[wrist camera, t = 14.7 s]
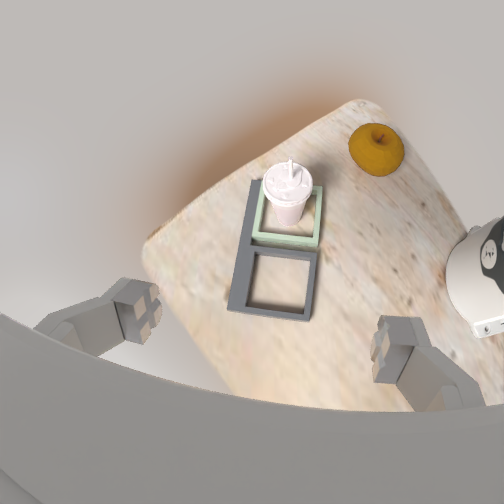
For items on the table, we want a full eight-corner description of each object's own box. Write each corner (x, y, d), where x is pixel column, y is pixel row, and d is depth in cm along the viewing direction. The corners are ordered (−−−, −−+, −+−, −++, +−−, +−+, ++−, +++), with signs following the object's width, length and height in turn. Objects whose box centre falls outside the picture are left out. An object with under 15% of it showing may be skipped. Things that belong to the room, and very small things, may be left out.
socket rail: (321, 191, 47) (322, 186, 45) (308, 322, 40) (308, 321, 39) (252, 184, 49) (251, 179, 47) (228, 311, 42) (226, 309, 41)
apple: (335, 170, 48) (342, 135, 39) (358, 139, 49) (366, 104, 41) (382, 198, 45) (397, 167, 37) (402, 163, 47) (416, 131, 38)
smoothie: (318, 218, 45) (326, 163, 32) (285, 242, 44) (282, 194, 31) (291, 190, 47) (290, 131, 34) (259, 212, 47) (247, 158, 34)
